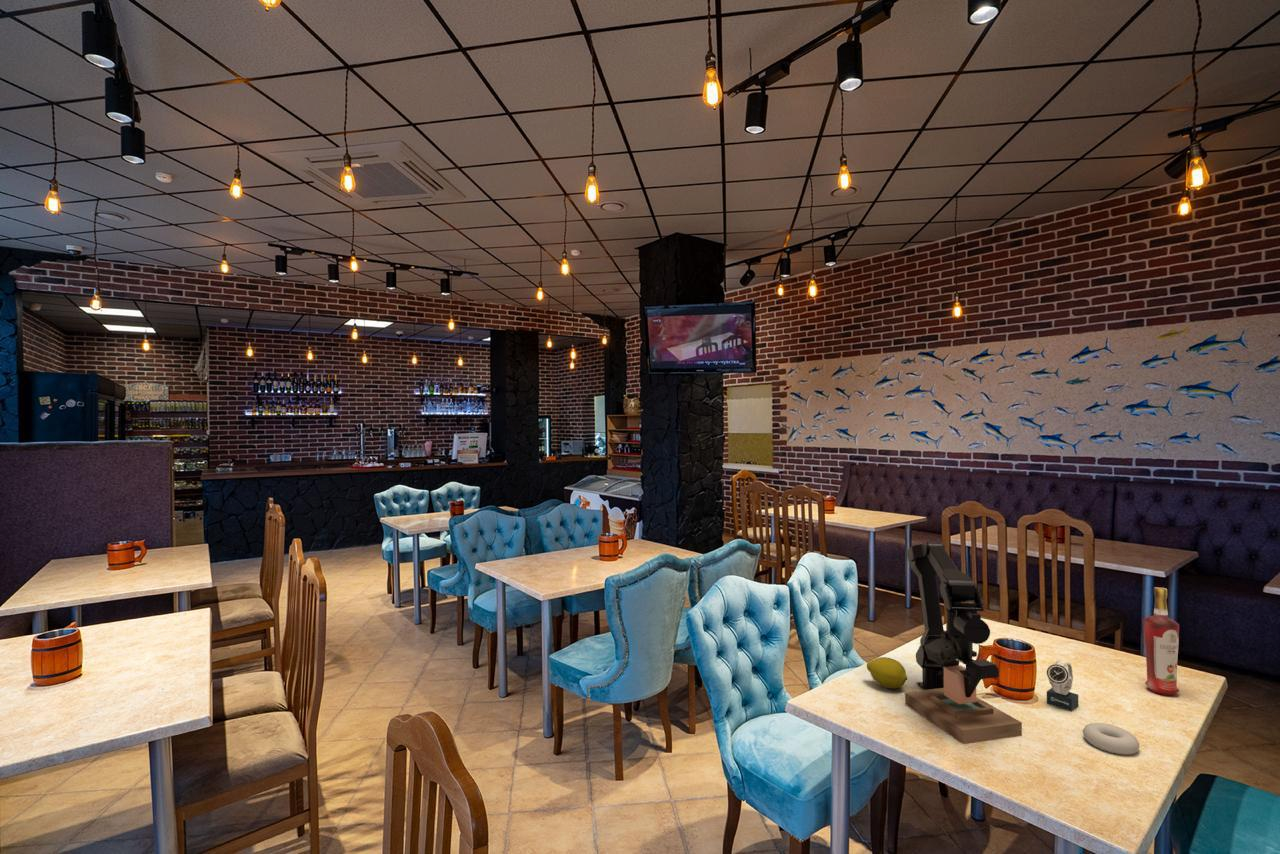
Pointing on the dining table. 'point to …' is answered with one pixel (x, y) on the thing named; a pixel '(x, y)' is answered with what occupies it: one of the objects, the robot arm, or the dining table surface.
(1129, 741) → the donut
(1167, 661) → the liquor
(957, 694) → the terracotta block
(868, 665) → the lemon
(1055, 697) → the watch
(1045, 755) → the dining table surface
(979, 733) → the brown flat frame
